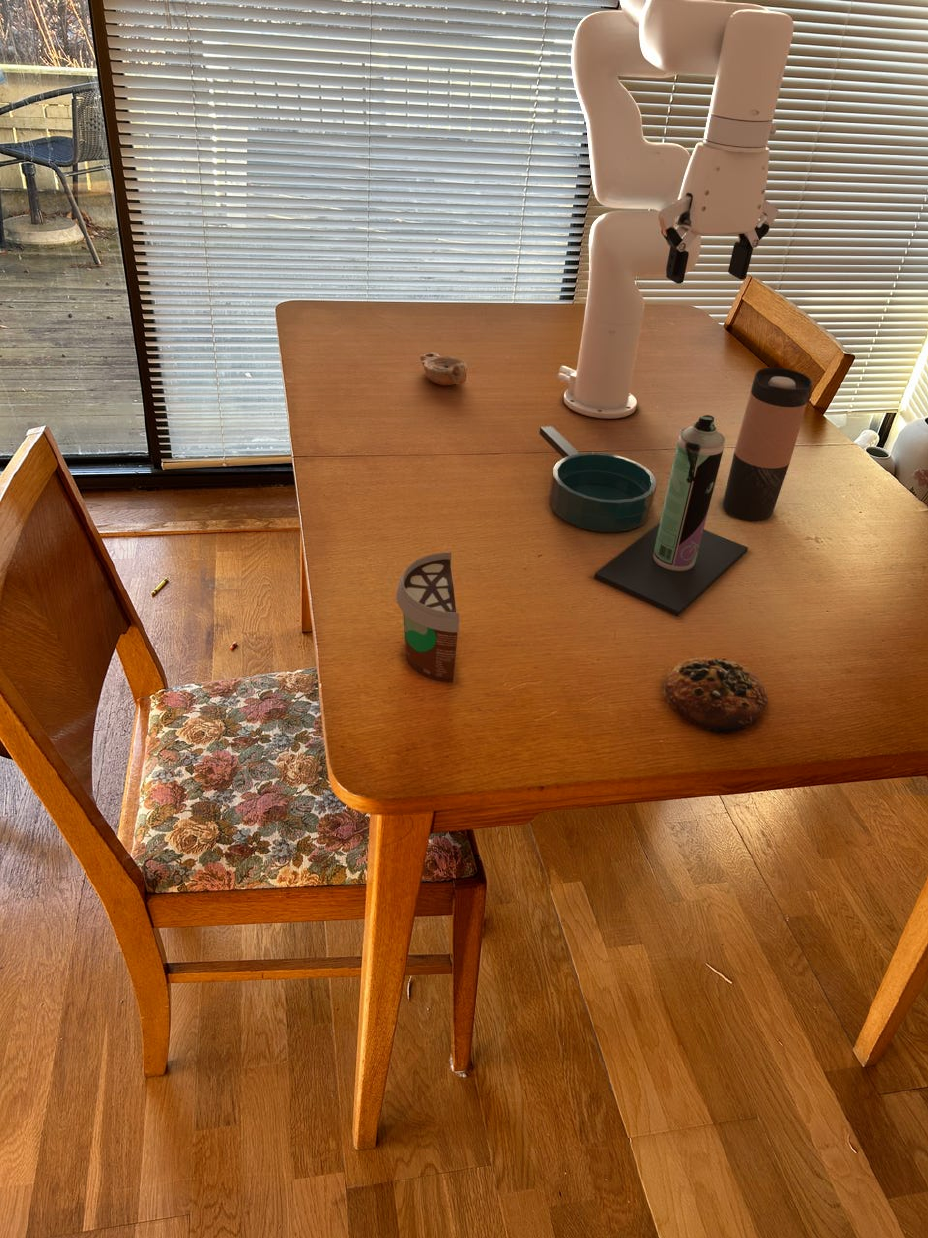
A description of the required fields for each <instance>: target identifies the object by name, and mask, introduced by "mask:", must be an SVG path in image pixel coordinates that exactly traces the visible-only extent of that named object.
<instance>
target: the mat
mask: <svg viewBox="0 0 928 1238" xmlns="http://www.w3.org/2000/svg"><path fill="white" fill-rule="evenodd" d="M659 526H660V522H659V523H658V524H656V525H655V526H654V527H653V528H651V529H650V530H649V531H648V532H646V533H645V534H644V535H642V536H641V537H640V538H639V539H637V540H636V541H635V542H633V543H632V544H631V545H629V546H628V547H626V548H625V549H624V550H623V551H621V552H620V553H619V554H618V555H617V556H615V557H613V559H611V560H610V561H609V562H607V563H606V564H604V565H603V566H602V567H601V568H600V569H598V570H597V571H596V572H595V573H594V577H593V579H595V580H596V581H598V582H601V583H603V584H605V585H607V586H610V587H612V588H614V589H617V590H618V591H621V592H623V593H624V594H627V595H629V596H631V597H634V598H636V599H638V600H640V601H642V602H644V603H646V604H649V605H651V606H654V607H656V608H658V609H660V610H662V611H664V612H666V613H669V614H671V615H673V616H675V617H676V618H678V617H679V616H680V615H682V613H684V612H685V611H686V610H687V609H688V608H689V607H690V606H691V605H692V604H693V603H695V601H696V600H698V599H699V598H700V597H701V596H702V595H703V594H704V593H705V592H707V590H708V589H709V588H711V586H712V585H713V584H715V583H716V582H717V581H718V580H719V579H721V577H723V575H724V574H725V573H727V571H728V570H730V569H731V568H732V567H733V566H734V565H735V564H736V563H737V562H738V561H739V560H740V559H742V558H743V556H744V555H746V554H747V553H748V550H749V547H748V546H746V545H743V544H742V543H738V542H736V541H733V540H731V539H729V538H726V537H724V536H721V535H718V534H716V533H714V532H711V531H710V530H706V529H705V528H704V529H703V533H702V537H701V541H700V545H699V549H698V553H697V557H696V561H695V564H694V566H693V567H692V568H690V569H688V570H684V571H674V570H669V569H666V568H664V567H662V566H660V565H658V564H657V563H656V562H655V561H654V559H653V553H654V548H655V544H656V539H657V535H658V530H659Z"/></svg>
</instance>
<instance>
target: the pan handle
mask: <svg viewBox="0 0 928 1238" xmlns="http://www.w3.org/2000/svg"><path fill="white" fill-rule="evenodd" d="M538 433H539V436H540V437H542V439H544V440H545V442H547V443H548V444H549V446H551V448H553V449H554V450H555V452H557V453H558V454H559V455H560V456H561V457H562V459H564V458H565V457H568V456H572V455H575V454H581V453H580V451H578V450H577V449H576V448H575V447H574V446H573V445H572V444H571V443H570V441H568V440H567V439H566V438H565V437H564V436H562V434H560V432H559V431H558V430H556V428H554V427H553V426H552V425H546V426H540V427H539V432H538Z"/></svg>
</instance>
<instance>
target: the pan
mask: <svg viewBox="0 0 928 1238" xmlns="http://www.w3.org/2000/svg"><path fill="white" fill-rule="evenodd" d="M656 479H657V478H656V476H655V475H654V474H653V472H652V471H651V470H650V469H649V468H647V467H646V466H644V465H642V464H640V463H639V462H637V461H635V460H633V459H630V458H627V457H625V456H621V455H616V454H611V453H604V452H583V453H580V454H575V455H572V456H568V457H565V458H561V459H560V460H559V461H557V462H556V464H555V465H554V467H553V468H552V474H551V481H550V489H549V497H548V499H549V500H548V501H549V507H550V508H551V509H552V511H553V512H554V513H555V515H557V516H558V517H559V518H561V519H562V520H563V521H565V522H566V523H569V524H571V525H573V526H575V527H578V528H581V529H584V530H588V531H593V532H600V533H619V532H626V531H631V530H633V529H636V528H639V527H641V526H643V524H645V523H647V522H648V521H649V519H650V516H651V515H652V510H653V505H654V501H655V496H656V491H657V487H658V483H657V480H656Z"/></svg>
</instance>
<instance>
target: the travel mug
mask: <svg viewBox="0 0 928 1238" xmlns="http://www.w3.org/2000/svg"><path fill="white" fill-rule="evenodd" d="M812 388H813V381H812V379H811V378H810V377H809V376H807V375H805V374H803V373H801V372H799V371H796V370H793V369H788V368H784V367H765V368H761V369H759V370H757V371H756V372H755V374H754V378H753V381H752V385H751V389H750V391H749V392H750V393H749V396H748V399H747V404H746V406H745V411H744V414H743V418H742V421H741V425H740V429H739V432H738V436H737V440H736V444H735V447H734V452H733V454H732V455H733V456H732V460H731V464H730V468H729V474H728V478H727V482H726V486H725V491H724V496H723V500H722V509H723V510H724V511H725V512H726V513H727V514H728V515H730V516H732V517H733V518H736V519H738V520H741V521H744V522H745V521H746V522H752V523H758V522H759V523H761V522H764V521H767V520H769V519H770V518H771V517H772V515H773V513H774V510H775V507H776V504H777V501H778V499H779V496H780V493H781V490H782V487H783V484H784V481H785V478H786V475H787V473H788V470H789V466H790V463H791V461H792V456H793V453H794V449H795V446H796V443H797V439H798V436H799V433H800V430H801V426H802V423H803V419H804V416H805V412H806V408H807V405H808V401H809V399H810V395H811V392H812Z"/></svg>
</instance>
